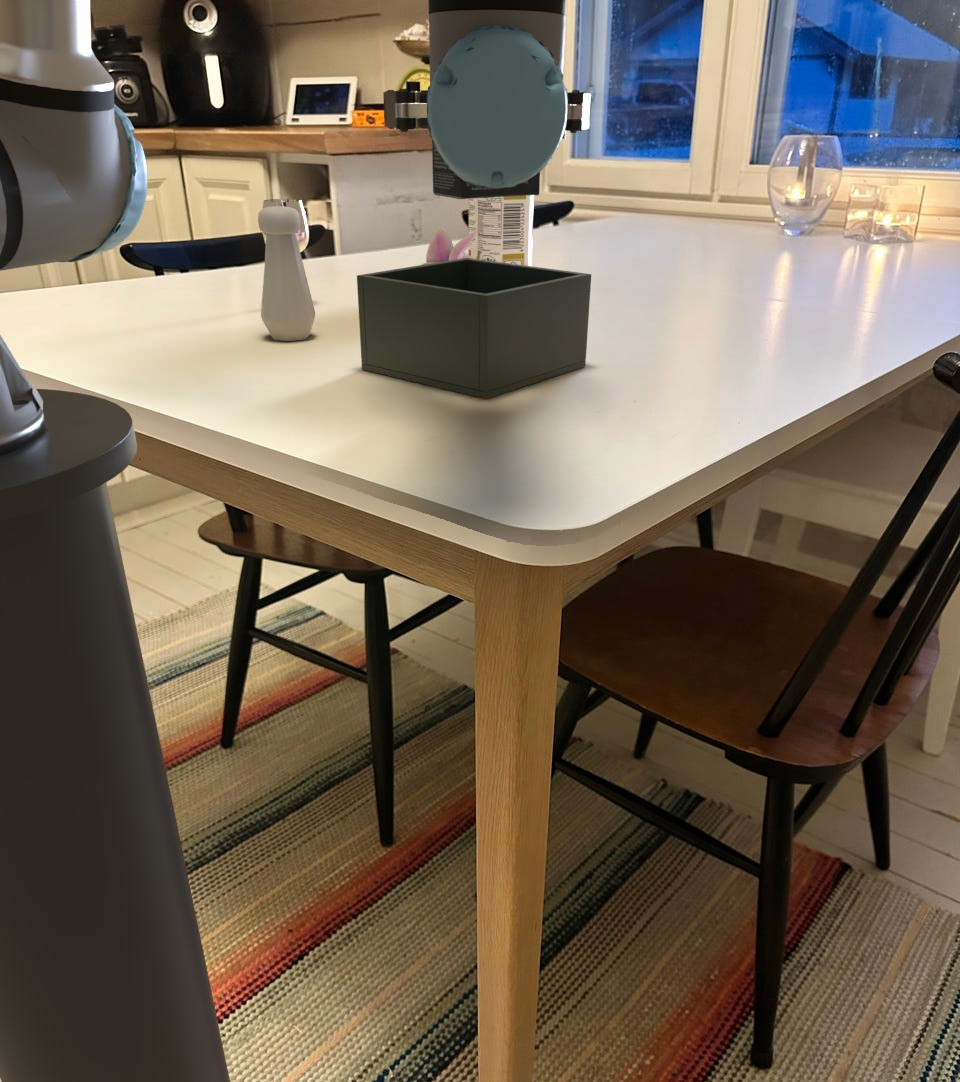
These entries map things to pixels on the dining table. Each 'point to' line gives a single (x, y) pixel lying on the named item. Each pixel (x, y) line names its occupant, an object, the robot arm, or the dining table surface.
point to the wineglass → (298, 205)
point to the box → (459, 189)
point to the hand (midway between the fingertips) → (485, 109)
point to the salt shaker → (284, 277)
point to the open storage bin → (473, 324)
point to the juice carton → (502, 229)
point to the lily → (447, 247)
